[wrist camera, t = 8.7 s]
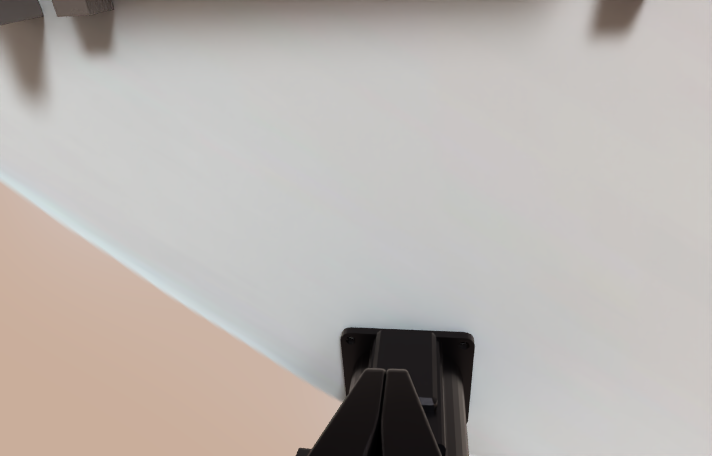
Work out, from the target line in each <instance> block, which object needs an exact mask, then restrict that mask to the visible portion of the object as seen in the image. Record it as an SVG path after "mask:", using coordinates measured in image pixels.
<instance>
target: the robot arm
mask: <svg viewBox="0 0 712 456" xmlns="http://www.w3.org/2000/svg"><path fill="white" fill-rule="evenodd" d="M349 337H353V338H354V339H351V338H349ZM461 342H467V343H465V344H462V343H461ZM341 347H342V357H343V367H344V377H345V387H346V398H345V400H344V401H343V403H342V404H341V406H340V407H339V409H338V410H337V412H336V413H335V415H334V416H333V418H332V419H331V421H330V422H329V424H328V425H327V427H326V429H325V430H324V432H323V433H322V434H321V436H320V437H319V439H318V441H317V442H316V444H315V445H314V447H313V448H312V449H305V448H299V449H298V452H297V455H296V456H469V450H468V438H467V426H466V424H467V422H468V413H469V402H470V391H471V381H472V370H473V359H474V348H475V345H474V338H473V336H472V335H471V334H469V333H465V332H447V331H423V330H400V329H376V328H352V327H351V328H346V329H344V330H343V332H342V336H341Z"/></svg>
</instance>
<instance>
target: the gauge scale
mask: <svg viewBox="0 0 712 456" xmlns="http://www.w3.org/2000/svg"><path fill="white" fill-rule="evenodd" d="M41 16H43V14H42V11H41V8H40V5H39V3H38V0H0V25H3V24H8V23H12V22H17V21H22V20H27V19H32V18H36V17H41Z"/></svg>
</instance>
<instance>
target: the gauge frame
mask: <svg viewBox="0 0 712 456" xmlns="http://www.w3.org/2000/svg"><path fill="white" fill-rule="evenodd" d="M52 2H53V5H54V8H55V11H56V14H57V17H62V16H82V15H92V14H96V13H101V12H105V11H109V10H113V9H114V8H113V5H112V1H111V0H52Z"/></svg>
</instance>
